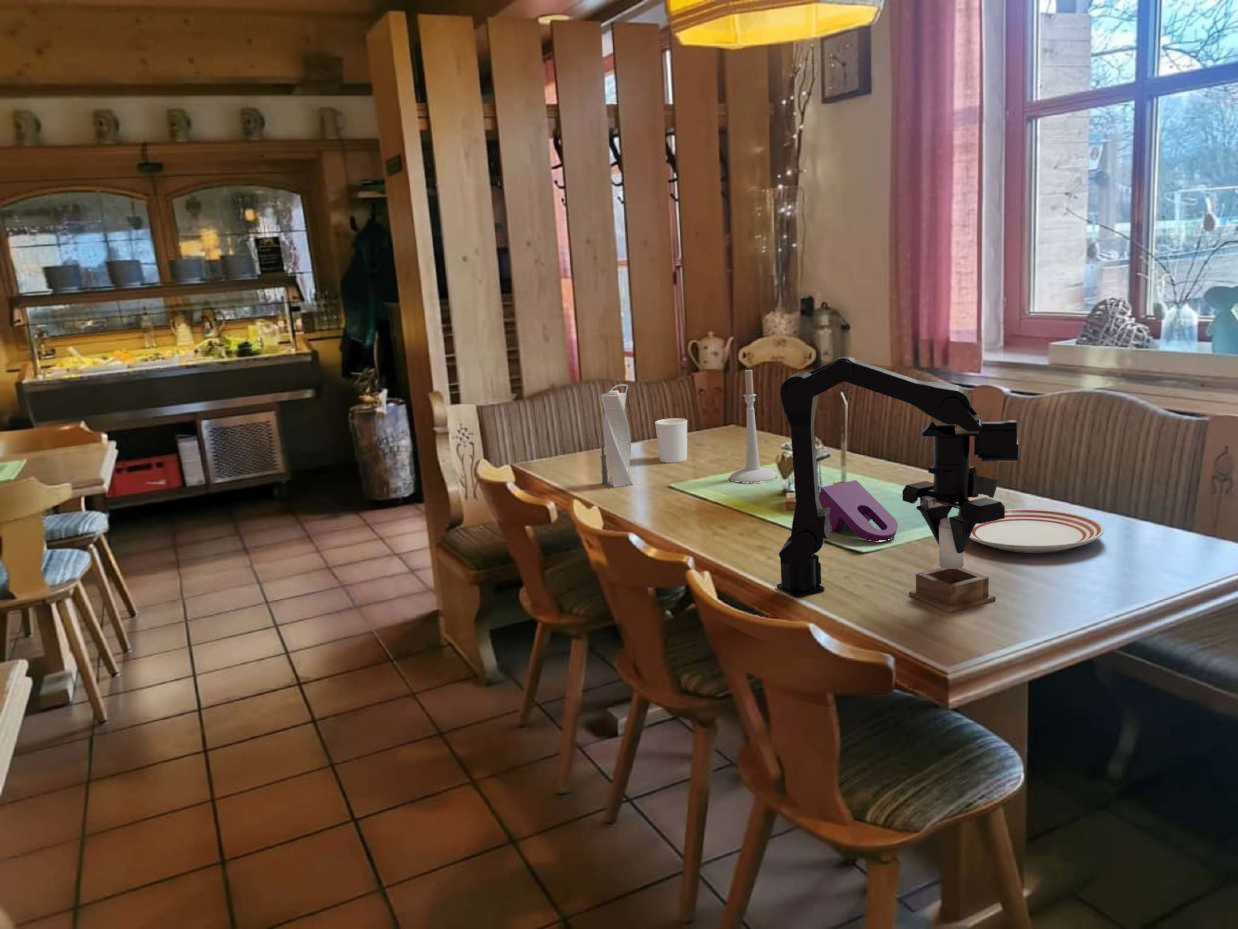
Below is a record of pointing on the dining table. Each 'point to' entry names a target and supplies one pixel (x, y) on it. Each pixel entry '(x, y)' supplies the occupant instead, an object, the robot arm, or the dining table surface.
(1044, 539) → the dinner plate
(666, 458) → the white cup
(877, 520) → the mounting bracket
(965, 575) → the box
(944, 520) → the salt shaker
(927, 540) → the dining table surface
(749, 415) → the candlestick
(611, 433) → the skyscraper
